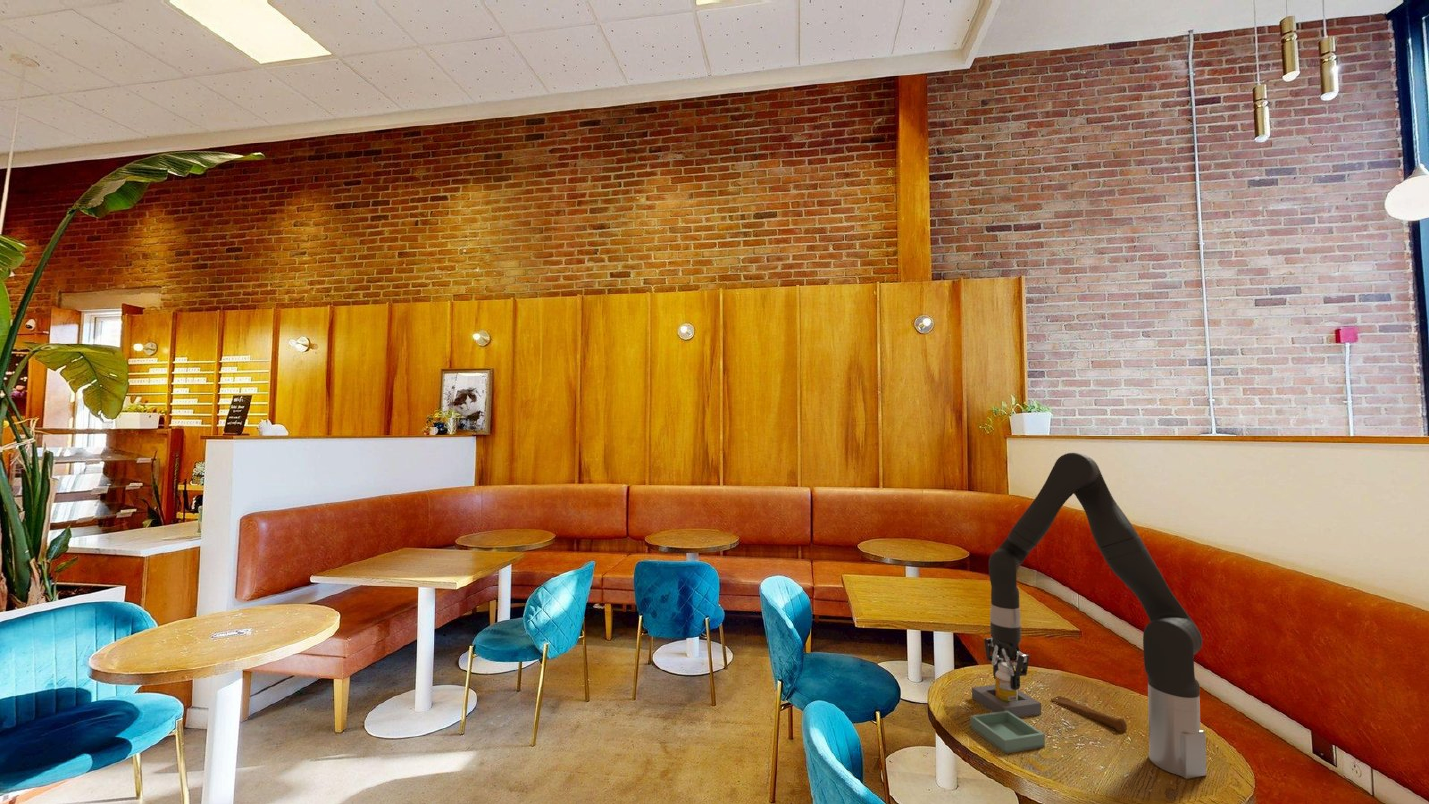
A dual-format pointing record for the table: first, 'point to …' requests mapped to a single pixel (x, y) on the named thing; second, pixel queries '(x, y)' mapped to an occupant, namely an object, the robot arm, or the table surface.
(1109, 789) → the table surface
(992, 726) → the tray
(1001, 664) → the supplement bottle
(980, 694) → the socket block
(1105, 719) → the primitive tool
